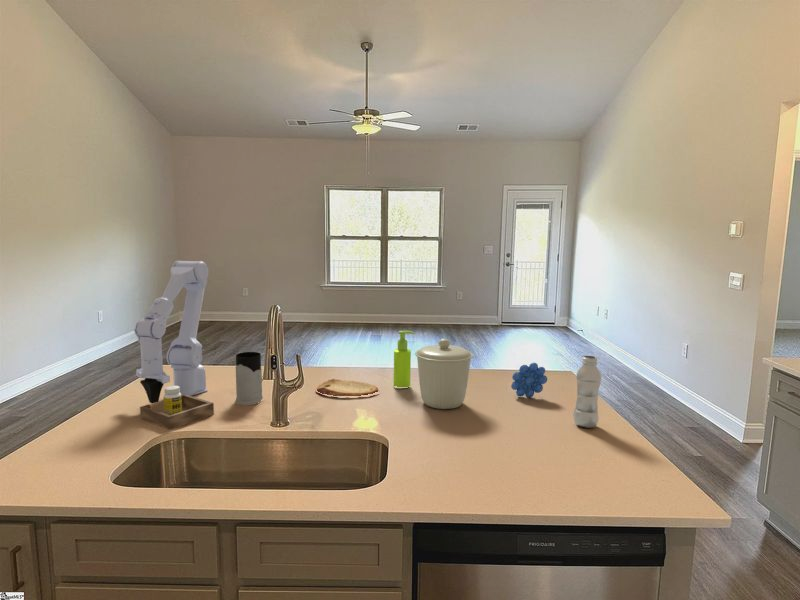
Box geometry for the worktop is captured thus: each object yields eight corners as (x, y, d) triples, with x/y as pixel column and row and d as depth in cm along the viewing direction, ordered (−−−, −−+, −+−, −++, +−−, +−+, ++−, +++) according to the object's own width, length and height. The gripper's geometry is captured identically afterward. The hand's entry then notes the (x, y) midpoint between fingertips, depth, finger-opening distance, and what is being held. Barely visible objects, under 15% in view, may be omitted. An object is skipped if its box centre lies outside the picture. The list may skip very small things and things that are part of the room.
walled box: (185, 405, 152) (184, 394, 152) (213, 414, 145) (213, 402, 144) (140, 418, 141) (140, 406, 140) (169, 429, 133) (168, 417, 133)
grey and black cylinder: (229, 402, 155) (227, 356, 153) (257, 390, 168) (256, 347, 166) (252, 406, 152) (250, 359, 150) (279, 393, 165) (278, 349, 163)
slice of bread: (384, 394, 166) (384, 384, 165) (338, 405, 155) (338, 394, 154) (354, 382, 180) (354, 372, 179) (310, 391, 169) (310, 380, 168)
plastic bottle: (579, 419, 144) (583, 353, 142) (602, 426, 139) (606, 357, 137) (568, 425, 140) (572, 356, 137) (592, 432, 135) (596, 361, 132)
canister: (443, 418, 144) (445, 348, 141) (402, 402, 157) (403, 337, 154) (483, 405, 156) (485, 340, 153) (441, 391, 169) (443, 331, 166)
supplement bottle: (173, 419, 141) (172, 390, 139) (160, 417, 142) (159, 389, 141) (185, 413, 145) (184, 386, 144) (173, 411, 147) (171, 384, 145)
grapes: (543, 394, 167) (545, 359, 166) (547, 400, 161) (549, 365, 159) (509, 392, 169) (510, 358, 167) (511, 399, 162) (513, 363, 160)
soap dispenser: (413, 389, 171) (414, 332, 168) (393, 389, 171) (394, 332, 168) (413, 384, 177) (413, 329, 174) (393, 384, 177) (394, 329, 174)
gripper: (125, 357, 148) (127, 401, 149) (152, 364, 140) (155, 410, 142) (148, 353, 154) (150, 395, 155) (175, 359, 146) (177, 404, 148)
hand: (154, 402), depth 149 cm, fingers closed
